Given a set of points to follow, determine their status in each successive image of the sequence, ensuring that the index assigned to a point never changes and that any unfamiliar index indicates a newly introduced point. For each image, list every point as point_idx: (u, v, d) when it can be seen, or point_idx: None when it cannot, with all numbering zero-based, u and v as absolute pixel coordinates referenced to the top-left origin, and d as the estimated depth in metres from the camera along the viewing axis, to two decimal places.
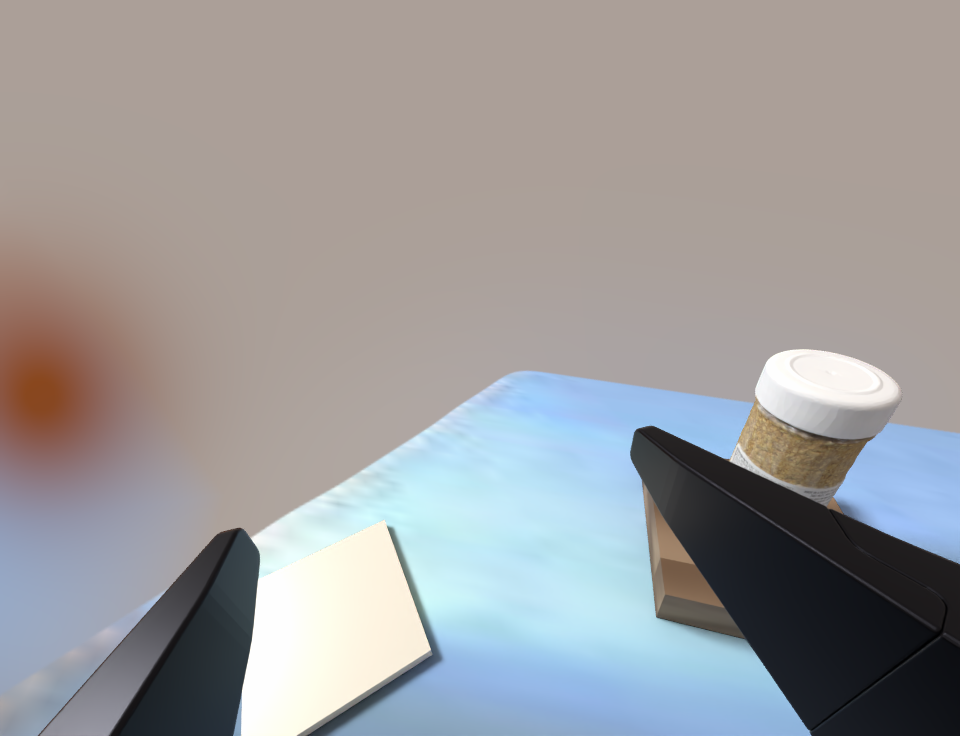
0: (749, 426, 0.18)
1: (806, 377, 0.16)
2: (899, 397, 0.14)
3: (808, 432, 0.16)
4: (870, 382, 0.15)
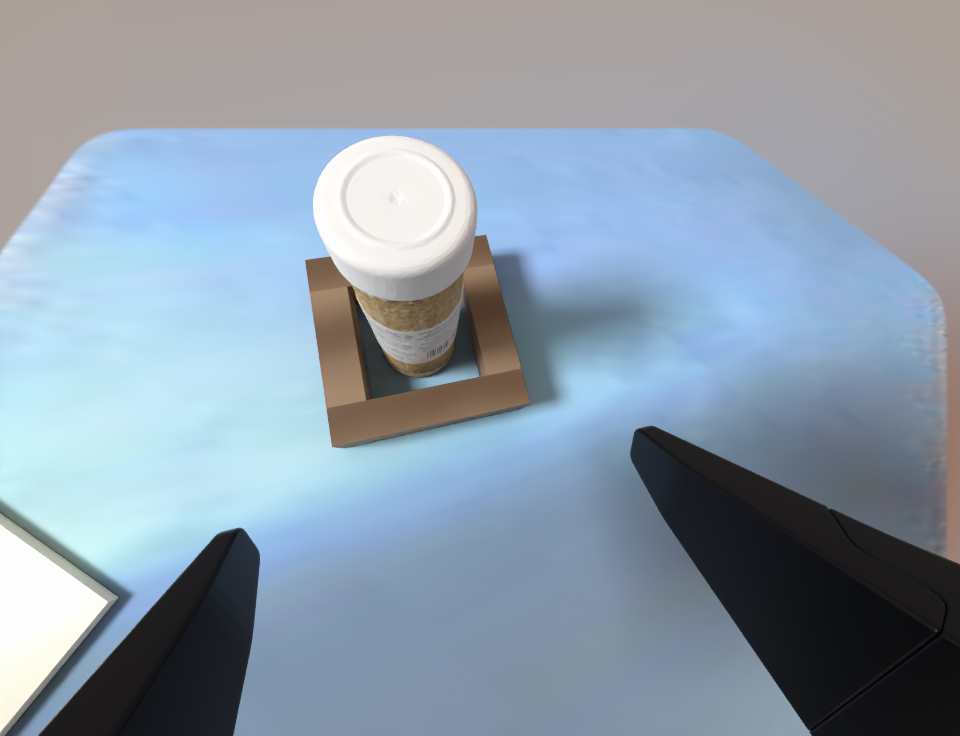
0: None
1: (358, 222, 0.10)
2: (467, 235, 0.10)
3: None
4: (439, 211, 0.10)
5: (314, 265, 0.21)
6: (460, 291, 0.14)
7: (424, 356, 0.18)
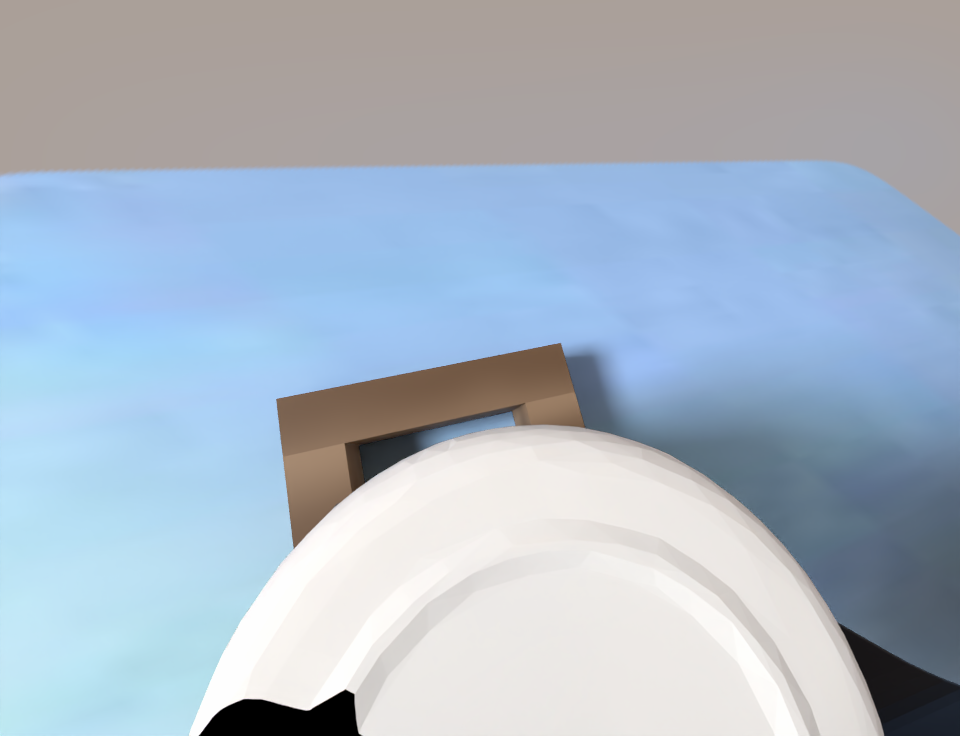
0: None
1: None
2: None
3: None
4: None
5: (291, 407, 0.13)
6: None
7: None
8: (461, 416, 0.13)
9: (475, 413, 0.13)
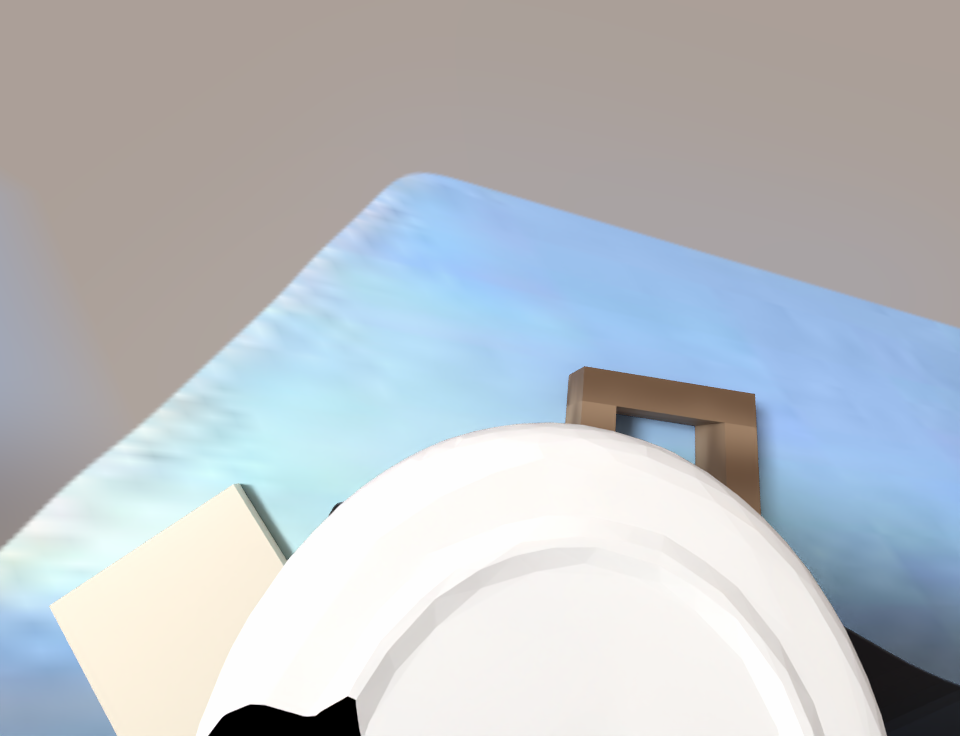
0: None
1: None
2: None
3: None
4: None
5: (591, 374, 0.21)
6: None
7: None
8: (685, 416, 0.21)
9: (693, 417, 0.21)
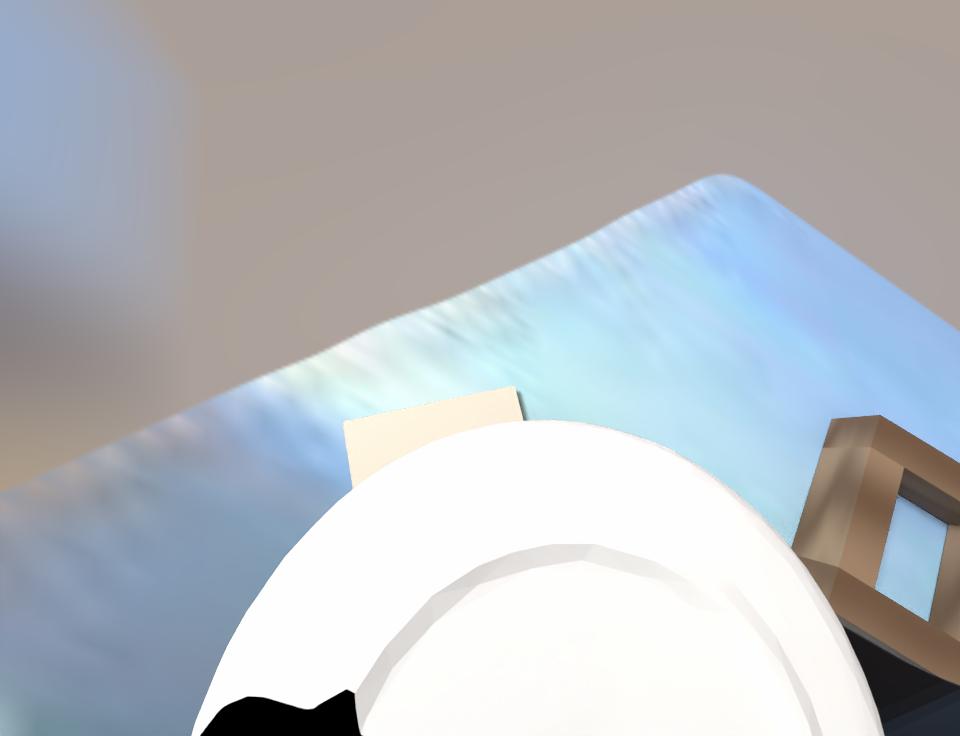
0: None
1: None
2: None
3: None
4: None
5: (885, 425, 0.20)
6: None
7: None
8: None
9: None
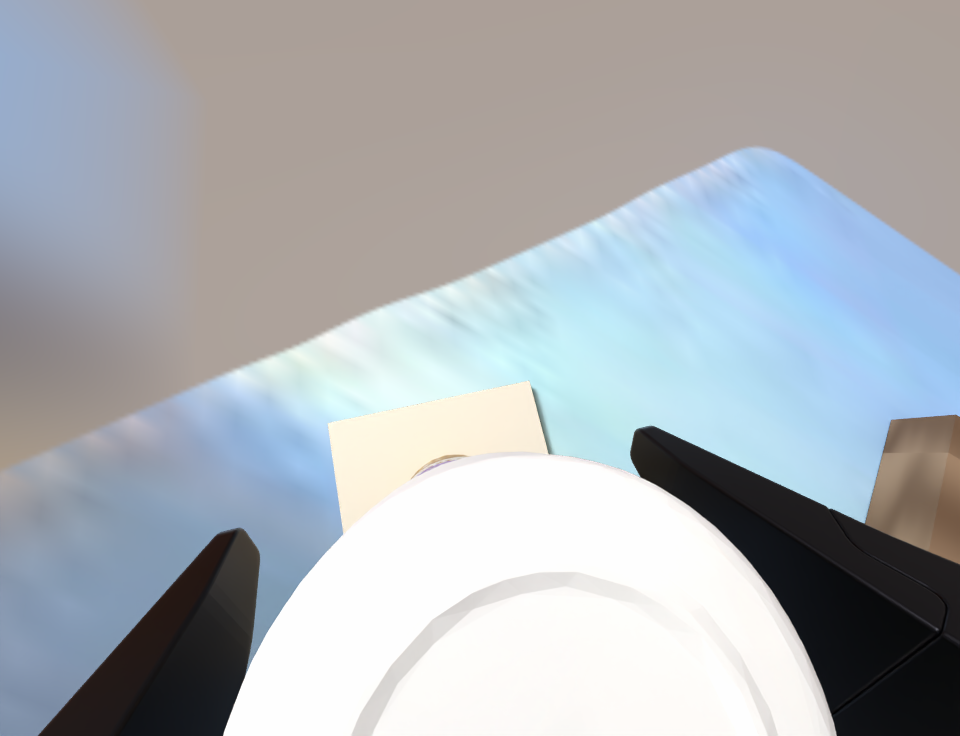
0: None
1: None
2: None
3: None
4: None
5: None
6: None
7: None
8: None
9: None
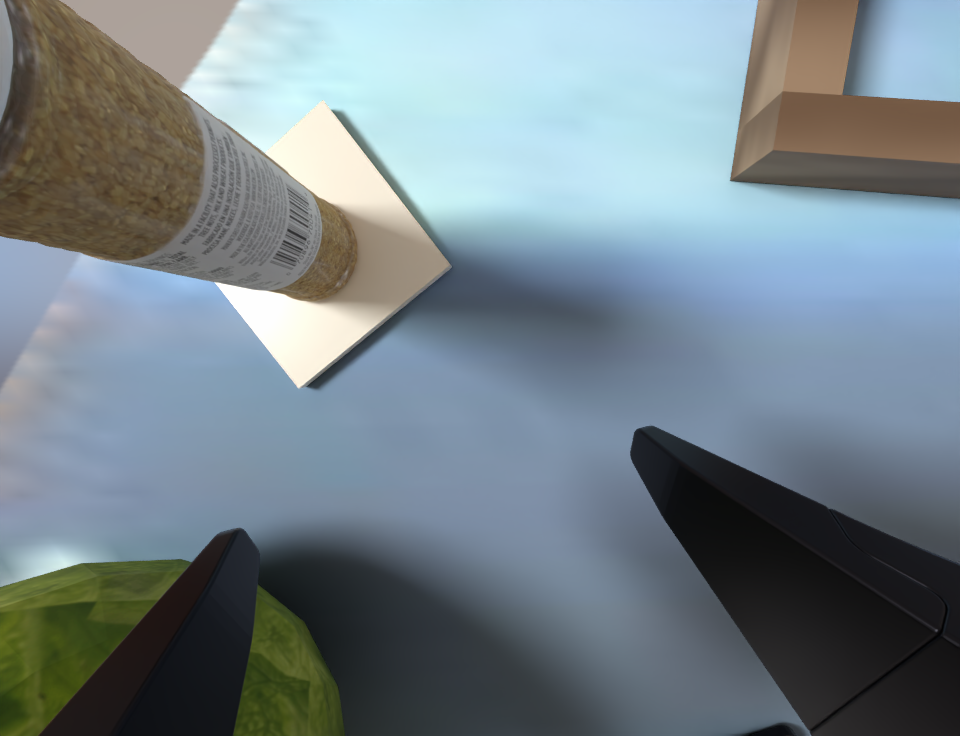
0: None
1: None
2: None
3: None
4: None
5: None
6: (176, 126, 0.07)
7: (279, 269, 0.12)
8: None
9: None
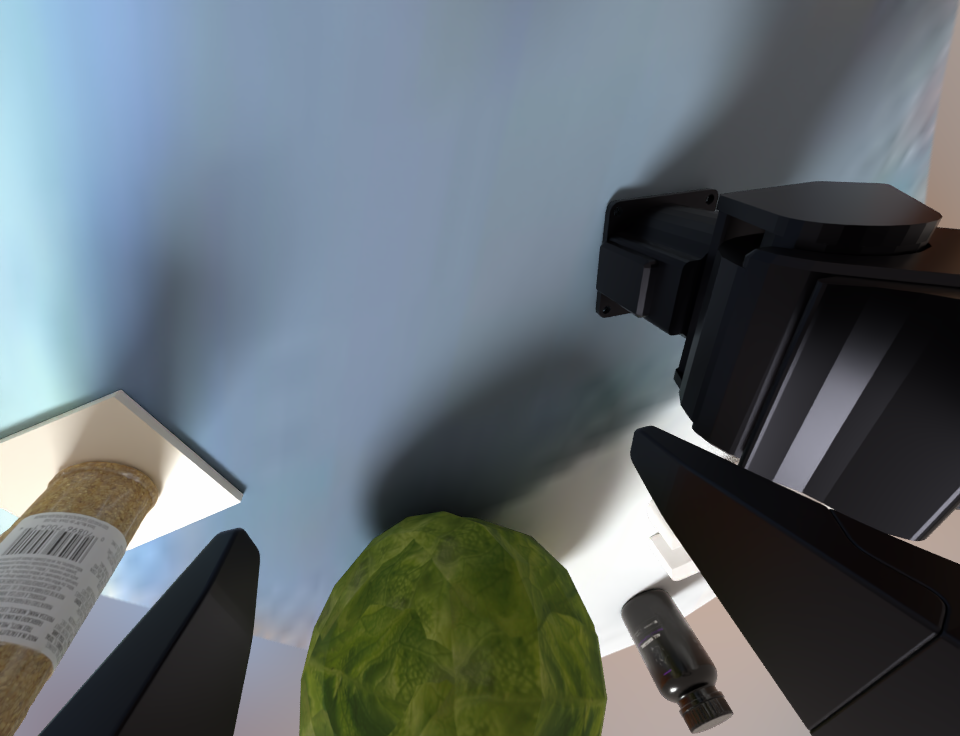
0: None
1: None
2: None
3: None
4: None
5: None
6: None
7: (93, 550, 0.16)
8: None
9: None
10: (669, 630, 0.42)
